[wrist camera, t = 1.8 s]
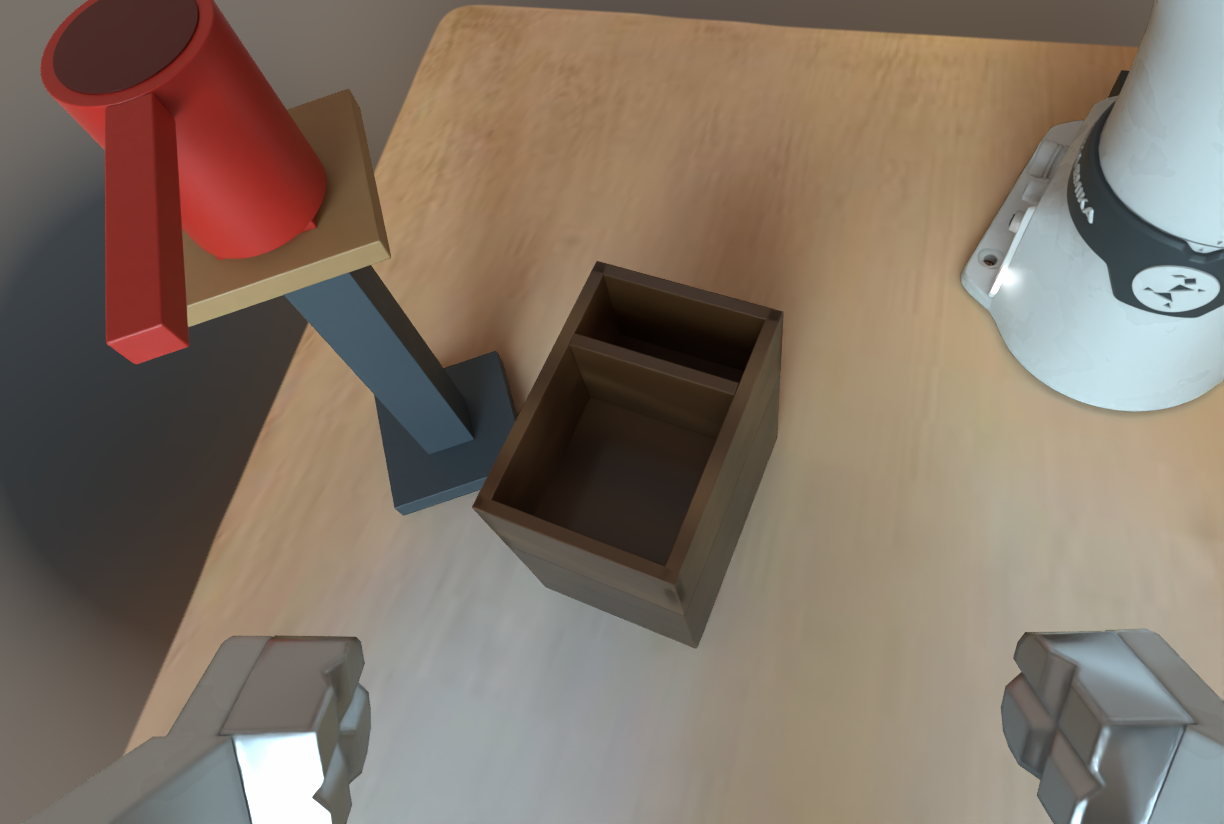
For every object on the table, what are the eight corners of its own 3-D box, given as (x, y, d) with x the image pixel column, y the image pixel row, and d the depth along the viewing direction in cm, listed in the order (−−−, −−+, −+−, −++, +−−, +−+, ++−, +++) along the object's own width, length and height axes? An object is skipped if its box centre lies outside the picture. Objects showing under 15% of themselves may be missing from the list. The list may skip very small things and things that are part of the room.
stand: (382, 401, 60) (157, 153, 37) (502, 360, 59) (349, 87, 37) (403, 515, 55) (164, 313, 33) (532, 472, 55) (380, 240, 33)
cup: (191, 177, 36) (40, 7, 29) (323, 133, 36) (206, -50, 29) (213, 485, 29) (22, 369, 22) (375, 431, 29) (241, 295, 22)
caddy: (634, 391, 57) (596, 260, 43) (777, 436, 54) (783, 311, 40) (545, 587, 52) (471, 507, 38) (696, 649, 49) (673, 586, 35)
